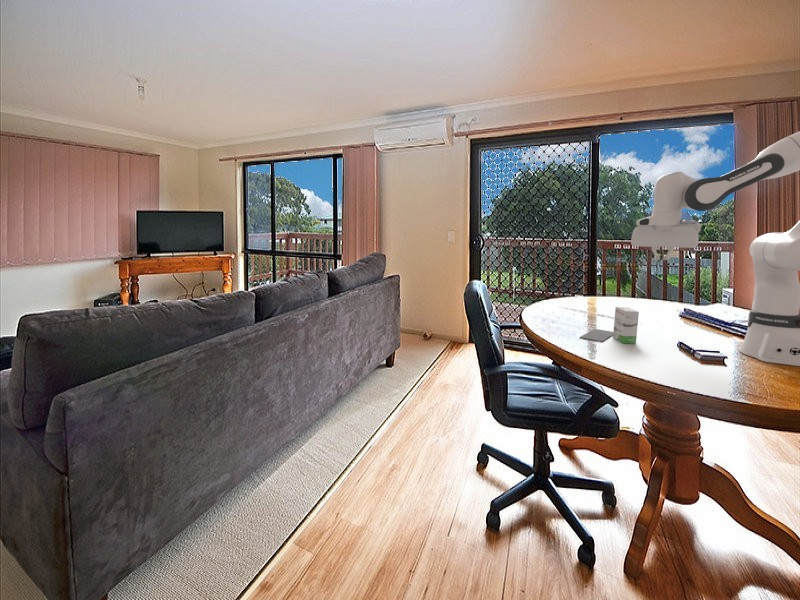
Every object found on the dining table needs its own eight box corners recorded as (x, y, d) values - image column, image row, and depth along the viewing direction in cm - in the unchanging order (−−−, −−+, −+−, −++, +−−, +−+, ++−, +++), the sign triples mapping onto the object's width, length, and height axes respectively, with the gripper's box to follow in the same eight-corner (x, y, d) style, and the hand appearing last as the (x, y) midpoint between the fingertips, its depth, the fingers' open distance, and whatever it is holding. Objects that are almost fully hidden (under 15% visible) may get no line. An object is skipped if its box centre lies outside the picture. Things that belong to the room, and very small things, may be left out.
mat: (616, 333, 160) (616, 332, 160) (602, 342, 148) (602, 341, 148) (594, 329, 165) (594, 328, 165) (579, 338, 154) (579, 337, 154)
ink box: (636, 343, 146) (640, 311, 144) (622, 343, 147) (625, 311, 144) (625, 337, 155) (628, 306, 152) (612, 336, 155) (614, 306, 153)
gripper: (703, 220, 140) (698, 260, 143) (636, 220, 154) (632, 257, 156) (700, 220, 136) (694, 262, 138) (631, 220, 149) (627, 258, 152)
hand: (661, 259), depth 147 cm, fingers closed
